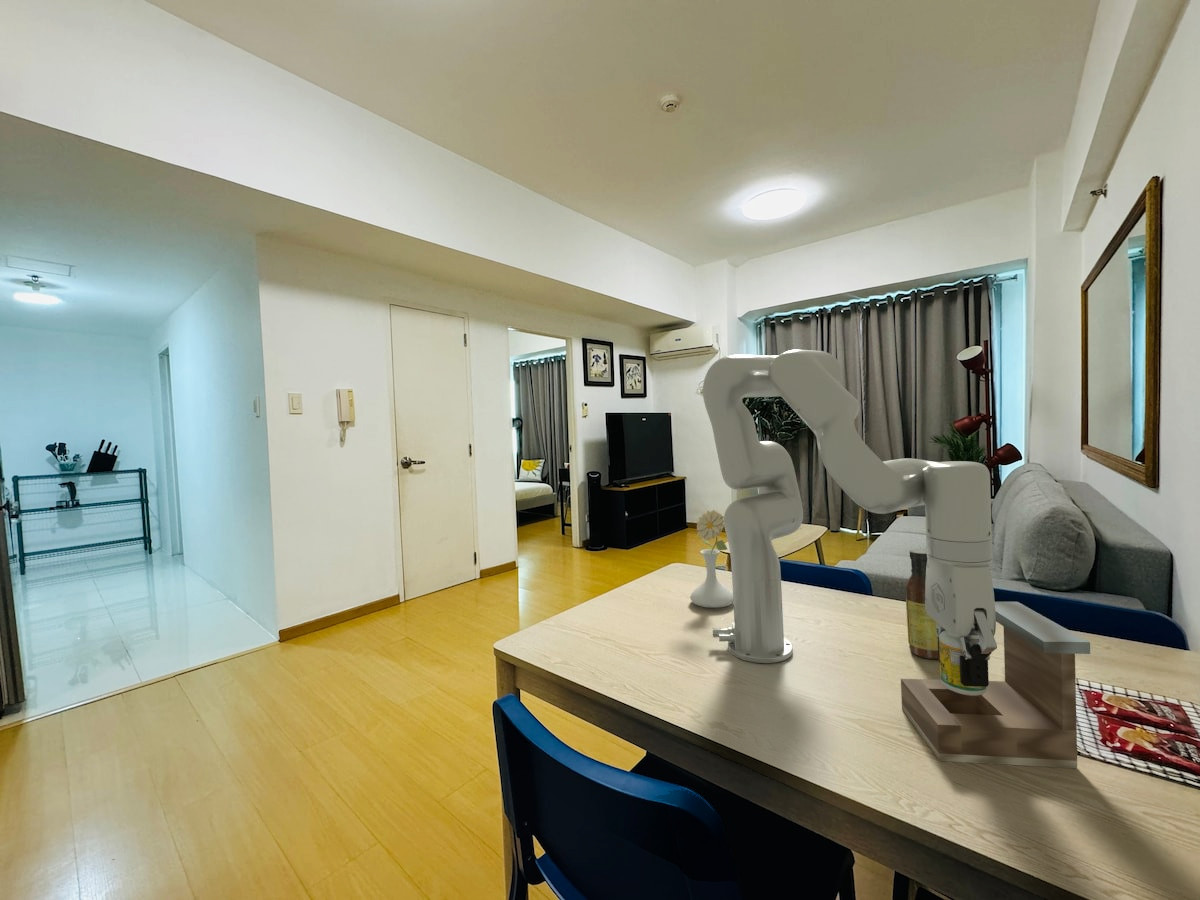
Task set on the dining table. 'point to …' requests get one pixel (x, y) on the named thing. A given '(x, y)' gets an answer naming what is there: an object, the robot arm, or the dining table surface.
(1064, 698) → the socket block
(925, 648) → the sauce bottle
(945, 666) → the supplement bottle
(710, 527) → the flower in vase
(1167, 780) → the dining table surface
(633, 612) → the dining table surface
